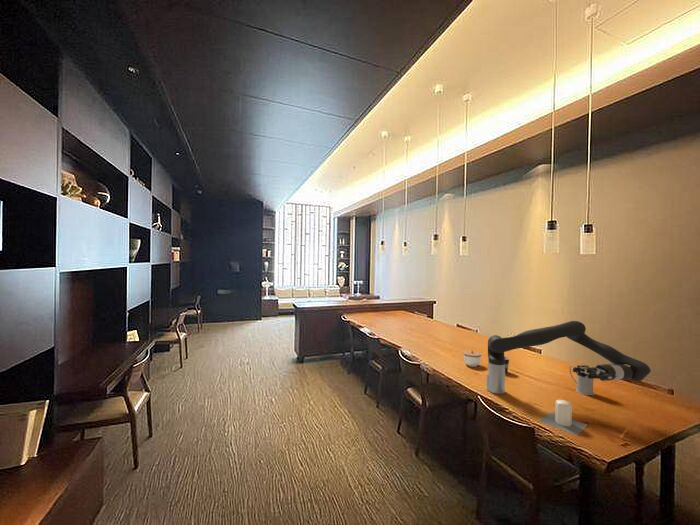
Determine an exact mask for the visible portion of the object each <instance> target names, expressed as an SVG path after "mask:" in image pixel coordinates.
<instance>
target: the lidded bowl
mask: <svg viewBox="0 0 700 525" xmlns="http://www.w3.org/2000/svg"><path fill="white" fill-rule="evenodd" d="M463 361H464V362H465V364H466V365H467V366H468V367H471V368H474V367H475V368H476V367H477V366H479V365H480V364H481V361H482V353H481V352H478V351H474V350H465V351H463Z"/></svg>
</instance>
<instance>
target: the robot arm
mask: <svg viewBox="0 0 700 525" xmlns="http://www.w3.org/2000/svg"><path fill="white" fill-rule="evenodd" d="M586 332H587V331H586V325H585V324H584V323H583V322H581V321H579V320H569V321H567V322H563V323H561V324H556V325H552V326H546V327H539V328H534V329H529V330H525V331H523V332H520V333H518V334H516V335H513V336H507V337H502V336H500V335H492V336H489V338H488V340H487V357H488V358H487V361H488V370H487V371H488V372H487V374H486V390H487V391H489V393H492V394H495V395H504V394H505V393H506V373H505V357H506V356H505V352H510V351H512V350H516V349H517V350H518V349H524V348H529V347H536V346H542V345H546V344H549V343H551V342H553V341H556V340H558V339H561V338H567V339H569V340H571V341H573V342H574V343H577V344H579V345H581V346H583V347H584V348H586V349H589V350H590V351H592V352H594V353H596V354H598V355H599V356H601V357H602V358H604V359H605V360H606V361H608V362H610V364H609V363H607V364H606V363H605V364H597V365H596V366H595V367H594V366H592V367H591V366H589V365H582V364H581V365H577V366H575V367H572V372H573V373H576V372H577V373H578V372H583V373H585V374H588V378H589V379H593V380H595V379H596V380H600V381H602V382H604V381H605V382H606V381H618V380H628V381H631V382H634V383H636V382H637V383H638V382H641V381H643V380H644V379H645V378H646V377H647V376H648V375H649V374H650V373H651V370H652V369H651V368H650V366H649V365H648V364H646V362H644V361H641V360H638V359H636V358H633V357H631V356H629V355H626V354H624V353H622V352H620V351H619V350H617V349H615V348H614V347H612V346H610V345H608V344H605V343H604V342H603V343H602V342H600V341H597V340H595V339H593V338H591V337H590V336H588V334H586ZM587 371H588V373H587Z"/></svg>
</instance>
